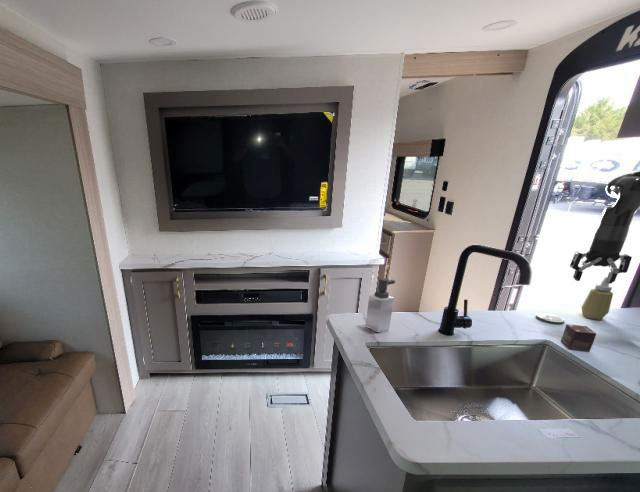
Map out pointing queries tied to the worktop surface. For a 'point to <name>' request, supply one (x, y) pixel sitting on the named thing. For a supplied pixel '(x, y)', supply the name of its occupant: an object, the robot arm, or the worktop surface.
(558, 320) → the white flat disc
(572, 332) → the box
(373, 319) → the soap dispenser
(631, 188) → the robot arm
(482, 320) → the worktop surface
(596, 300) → the squeeze bottle
